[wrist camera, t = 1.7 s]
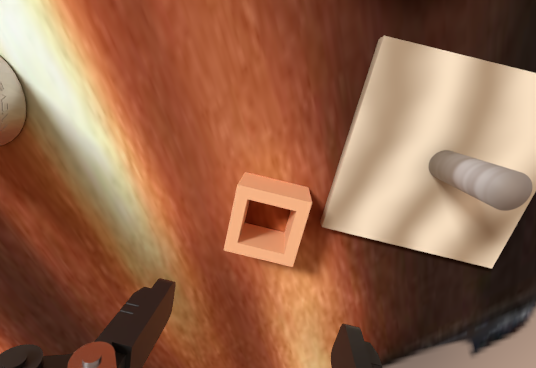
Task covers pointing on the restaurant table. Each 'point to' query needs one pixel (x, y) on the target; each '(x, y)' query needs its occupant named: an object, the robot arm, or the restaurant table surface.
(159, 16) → the restaurant table surface
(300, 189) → the orange square hollow block
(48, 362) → the robot arm
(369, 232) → the peg stand
